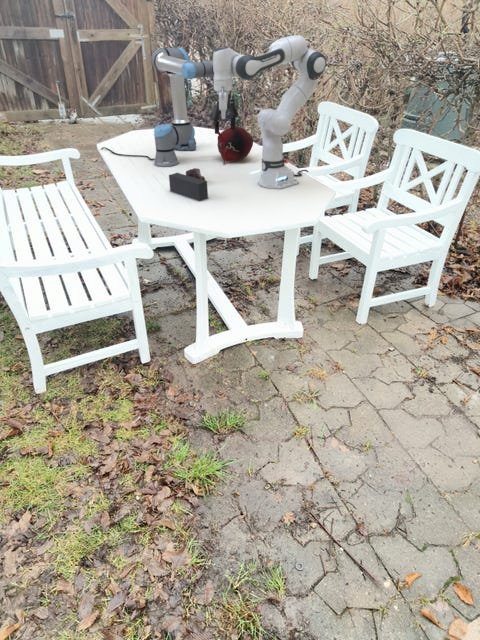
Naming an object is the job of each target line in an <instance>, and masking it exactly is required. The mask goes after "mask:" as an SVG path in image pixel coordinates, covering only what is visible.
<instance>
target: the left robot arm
mask: <svg viewBox="0 0 480 640" xmlns="http://www.w3.org/2000/svg"><path fill="white" fill-rule="evenodd" d="M150 61H151V65H152V67H153V68H154V69H155V70H156V71H159V72H162V73H163V72H166V75H167V76H168V77H169V83H170V93H171V101H172V112H173V120H172V121H171V123H161V124H159V125H156V126H155V127H154V129H153V136H154V145H155V155H154V158H151V157H149V156H148V155H143V154H142V155H139V154H123V153H118V152H115V151H113V150H111V149H110V148H108V147H106V146H103V147H101V149H100V150H103V149H105V150H107V151H109V152H111V153H112V154H114V155H117V156H122V157H138V158H139V157H141V158H148V160H150V161H154V165H155V166H157V167H163V168H164V167H165V168H167V167H168V168H169V167H174V166H177V165H178V164H179V159H178V157H177V153H176V151H175V149H174V145H179V144H186V143H189V142H191V141H192V140H193V139H194V138H195V134H196V132H195V127H194V125H193V124H192V123H191V120H190V119H189V118H188V109H187V97H186V96H187V95H186V85H185V80H194V79H202V78H211V77H212V78H214V71H213V59H212V60H211V59H210V60H204V61H190V59H189V54H188V53H187V52H186V50H185V48H183V47H176V46H175V47H162V48H161V47H160V48H157V49H155V50H154V51H153V52H152V54H151V57H150ZM216 95H217V96H216V97H217V99H218V101H217V100H215V101H214V102H213V109H212V114H211V117H210V121H212V122H213V128H214V134H215V135H218V134H219V132H220V121H219V120H220V117H221V116H222V114H221V110H219V94H217V93H216ZM226 111H228V113H229V115H230V116H231V117H230V127H231V130H235V127H236V124H237V123H236V120H237V119H236V118H238V117H239V112H238V109H237V106H236V103H235V99H234V98H232V90H230V94H228V103H227V110H226Z"/></svg>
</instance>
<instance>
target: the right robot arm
mask: <svg viewBox="0 0 480 640" xmlns="http://www.w3.org/2000/svg"><path fill="white" fill-rule="evenodd" d="M212 61H213V71H214V77H212V78H213V80H212V81H213V91H215V92H216V95H217V94H219V99H218V101H219V110H221V119H222V120H225V119H226V116H227V111H228V110H227V103H228V94H230V91H232V90H233V77H236V78H240V79H242V80H244V81H250V80H253V79H254V78H255V77H256V76H257V75H259V74H260V73H261V72H263V71H265V70H268V69H270V68H272V67H275V66H282V65H286V64H290V63H291V67H292V68H293V69H294V70H295V71H297V72H299V76H298V77H297V79H296V80H295V81H294V82H293V83H292V84H291V86H290V87H288V89H286V91H285V93H283V94H282V96H281V98H280V103H279V105H277V108H276V109H273V108H264V109H262V110H260V111H259V113H258V115H257V118H256V119H257V123H258V126H259V130H260V136H261V142H262V143H261V144H262V158H261V169H258V170H255V171H252V172H250V175H252V174H256V173H259V172H261V175H260V178H259V179H260V180H259V183H258V184H259V186H261V187H263V188H268V189H279V190H281V189H284V188H288V187H291V186H294V185H298V183H299V182H298V180H297V179H296V178H295V177H302V176H303V173H302V172H306V173H309V170H308V169H301V170H299V171H297V174H295V172H294V171H293V170H292V169H291V168H289V167H288V166H287V165H286V164H288V163H289V160H288V159H286V158H285V159H284V158H283V153H284V151H283V150H284V143H283V141H282V138H281V136H285V135H286V134H288V133H289V132H290V130H291V127H292V122H293V119H294V117H295V116H296V114H297V113H298V111H299V110H300V109H301V108H302V107H303V106H304V104H306V102H307V101H308V100H309V99H310V98H311V96H312V95H313V93H314V92H315V90H316V89H317V87H318V85H319V84H318V79H319V78H321V77H322V75H323V73H324V72H325V69H326V67H327V64H328V63H327V58H326V56H325V54H324V53H322V52H321V51H317V50H315V49H312V48H308V43H307V40H306V38H305V37H304V36H303V35H301V34H295V35H288V36H284V37H281V38H279V39H277V40H274V41H273V42H272V43H271V44H270V46H269V49H268V52H267V51H266V52H265V53H262V54H259V55H252V54H242V53H240V52H237V51H235V50H233V49H232V48H231V47H230V46H228V45H224V46H219V47H217V48H215V49H214V50H213V53H212Z"/></svg>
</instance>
